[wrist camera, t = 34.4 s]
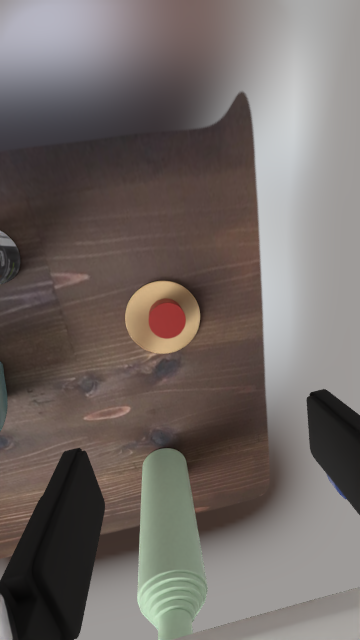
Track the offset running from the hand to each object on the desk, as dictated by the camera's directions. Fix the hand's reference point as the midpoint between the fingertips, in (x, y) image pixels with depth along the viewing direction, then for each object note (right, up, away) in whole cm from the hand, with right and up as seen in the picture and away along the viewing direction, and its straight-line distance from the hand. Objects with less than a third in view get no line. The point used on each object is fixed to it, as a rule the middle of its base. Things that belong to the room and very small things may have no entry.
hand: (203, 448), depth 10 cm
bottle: (-3, -16, +25) cm, 30 cm away
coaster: (-3, +6, +20) cm, 21 cm away
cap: (-3, +6, +19) cm, 20 cm away
